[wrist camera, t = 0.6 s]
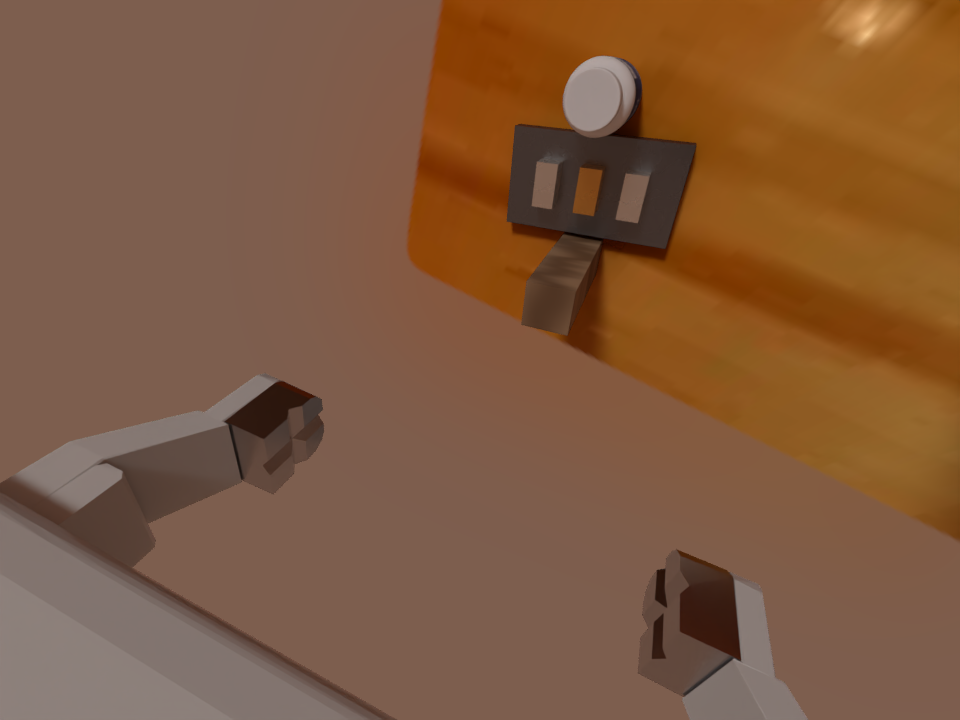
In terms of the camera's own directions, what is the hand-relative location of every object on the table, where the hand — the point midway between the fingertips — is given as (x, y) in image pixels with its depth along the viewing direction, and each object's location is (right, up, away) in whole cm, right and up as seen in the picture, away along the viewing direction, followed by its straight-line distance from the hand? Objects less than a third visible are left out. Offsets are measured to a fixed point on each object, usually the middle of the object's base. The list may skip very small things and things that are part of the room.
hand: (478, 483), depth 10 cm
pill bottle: (+12, +26, +29) cm, 41 cm away
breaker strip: (+11, +20, +34) cm, 41 cm away
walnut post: (+11, +14, +37) cm, 41 cm away
